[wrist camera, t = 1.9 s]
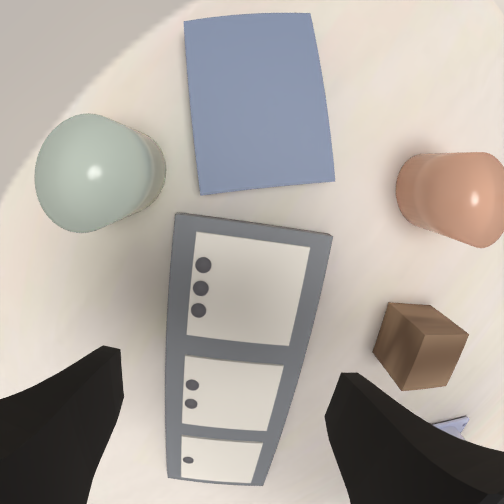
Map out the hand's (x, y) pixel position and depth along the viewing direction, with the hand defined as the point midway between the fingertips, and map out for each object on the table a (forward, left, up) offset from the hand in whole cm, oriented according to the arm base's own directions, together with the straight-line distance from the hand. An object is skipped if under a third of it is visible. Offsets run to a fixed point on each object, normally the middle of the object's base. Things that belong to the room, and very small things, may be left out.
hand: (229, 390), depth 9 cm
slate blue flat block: (+11, 0, -10) cm, 15 cm away
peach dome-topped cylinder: (+8, -12, -10) cm, 17 cm away
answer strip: (-8, -1, -10) cm, 13 cm away
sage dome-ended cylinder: (+6, +7, -10) cm, 14 cm away
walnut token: (-2, -13, -10) cm, 17 cm away
